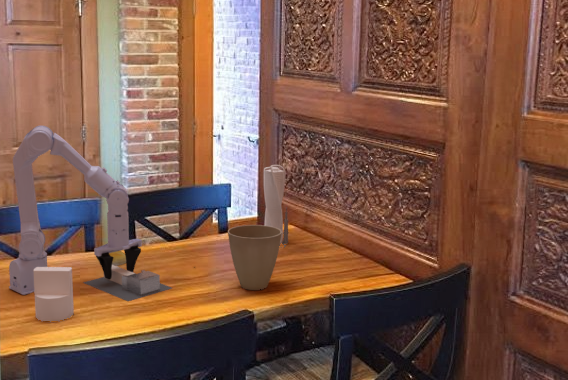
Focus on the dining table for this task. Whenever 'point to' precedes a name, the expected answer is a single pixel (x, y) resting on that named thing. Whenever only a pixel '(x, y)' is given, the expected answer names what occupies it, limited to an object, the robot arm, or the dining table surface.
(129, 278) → the end cap
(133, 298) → the mat
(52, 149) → the robot arm
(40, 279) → the base with upright slab
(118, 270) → the pale grey rectangular bar
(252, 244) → the plant pot
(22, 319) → the dining table surface
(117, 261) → the bread roll
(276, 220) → the skyscraper
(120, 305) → the dining table surface
